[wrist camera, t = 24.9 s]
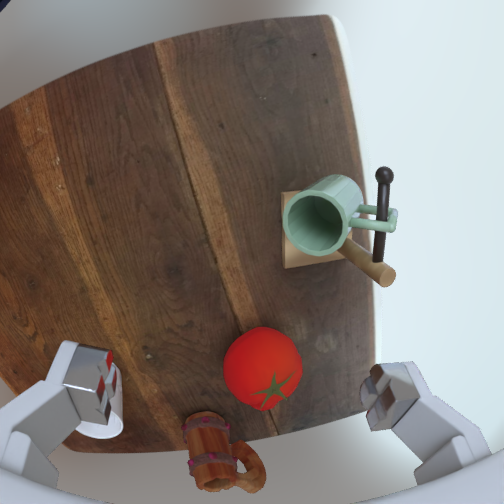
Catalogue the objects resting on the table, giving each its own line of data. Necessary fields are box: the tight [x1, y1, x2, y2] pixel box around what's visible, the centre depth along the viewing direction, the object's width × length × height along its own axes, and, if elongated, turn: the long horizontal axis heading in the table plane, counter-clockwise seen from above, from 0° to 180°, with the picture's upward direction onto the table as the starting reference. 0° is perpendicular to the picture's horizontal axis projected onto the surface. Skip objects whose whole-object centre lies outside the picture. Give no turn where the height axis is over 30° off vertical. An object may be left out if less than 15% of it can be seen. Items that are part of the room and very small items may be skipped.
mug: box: [181, 411, 266, 493], centre depth 46 cm, size 15×8×15 cm, turn 54°
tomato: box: [223, 327, 303, 411], centre depth 43 cm, size 11×13×10 cm
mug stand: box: [281, 167, 396, 287], centre depth 34 cm, size 15×10×16 cm, turn 3°
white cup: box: [76, 363, 123, 439], centre depth 38 cm, size 8×8×10 cm
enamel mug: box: [283, 174, 398, 256], centre depth 30 cm, size 10×6×9 cm
